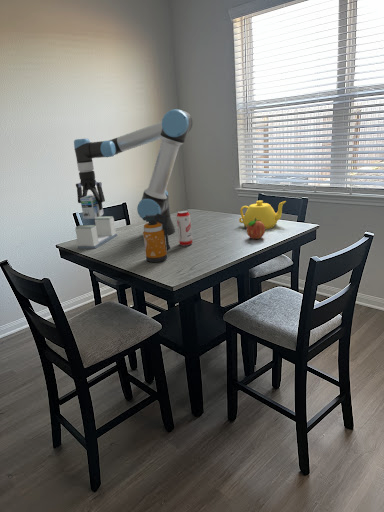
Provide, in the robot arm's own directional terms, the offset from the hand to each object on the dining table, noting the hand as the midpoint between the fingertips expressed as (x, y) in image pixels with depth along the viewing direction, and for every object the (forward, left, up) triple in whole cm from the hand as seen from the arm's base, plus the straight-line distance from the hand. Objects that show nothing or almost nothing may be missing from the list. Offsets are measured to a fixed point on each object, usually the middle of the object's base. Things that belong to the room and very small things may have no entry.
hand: (93, 216), depth 202 cm
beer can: (-50, +3, -14) cm, 52 cm away
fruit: (-82, -7, -14) cm, 84 cm away
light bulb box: (0, 0, -1) cm, 1 cm away
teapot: (-82, -29, -14) cm, 88 cm away
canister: (-45, +25, -14) cm, 54 cm away
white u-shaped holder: (0, 0, -14) cm, 14 cm away
